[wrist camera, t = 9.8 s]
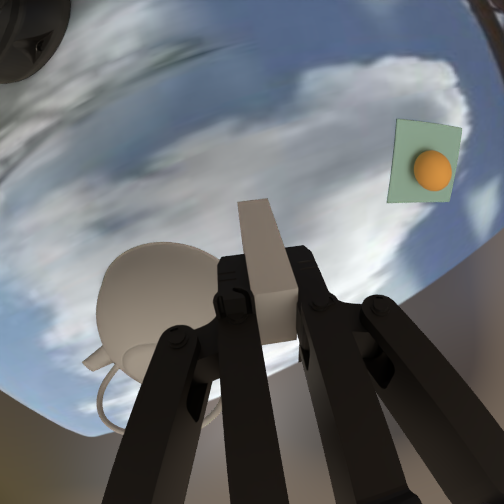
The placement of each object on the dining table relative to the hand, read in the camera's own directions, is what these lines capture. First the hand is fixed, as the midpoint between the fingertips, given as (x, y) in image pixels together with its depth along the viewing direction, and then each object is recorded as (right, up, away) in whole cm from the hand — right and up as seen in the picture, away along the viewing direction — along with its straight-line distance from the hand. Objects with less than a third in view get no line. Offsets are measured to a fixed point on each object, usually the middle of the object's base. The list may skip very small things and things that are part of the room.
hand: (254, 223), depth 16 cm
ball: (+24, +9, +18) cm, 32 cm away
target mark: (+24, +11, +21) cm, 34 cm away
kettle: (-14, -10, +31) cm, 35 cm away
